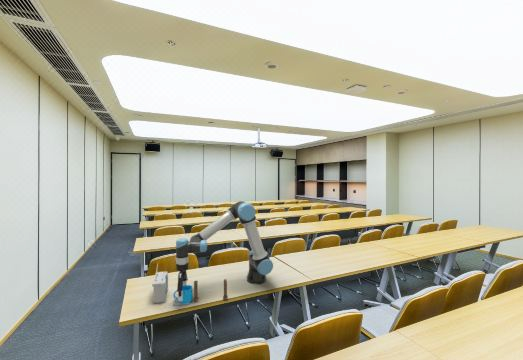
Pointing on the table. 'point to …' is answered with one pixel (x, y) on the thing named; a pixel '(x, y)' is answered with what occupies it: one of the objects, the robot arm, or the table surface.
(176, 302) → the grey mat
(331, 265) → the table surface
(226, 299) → the walnut standards
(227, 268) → the table surface
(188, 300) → the mug
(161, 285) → the stereo radio cassette player
